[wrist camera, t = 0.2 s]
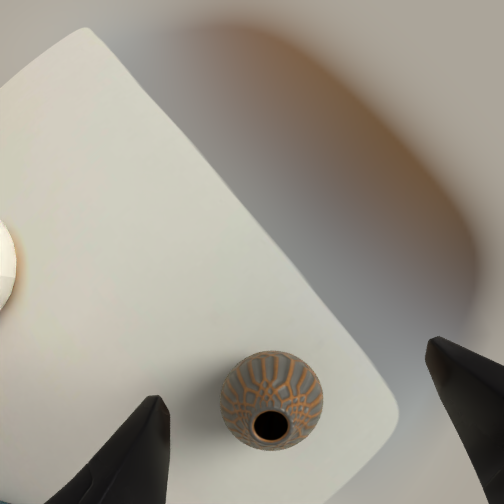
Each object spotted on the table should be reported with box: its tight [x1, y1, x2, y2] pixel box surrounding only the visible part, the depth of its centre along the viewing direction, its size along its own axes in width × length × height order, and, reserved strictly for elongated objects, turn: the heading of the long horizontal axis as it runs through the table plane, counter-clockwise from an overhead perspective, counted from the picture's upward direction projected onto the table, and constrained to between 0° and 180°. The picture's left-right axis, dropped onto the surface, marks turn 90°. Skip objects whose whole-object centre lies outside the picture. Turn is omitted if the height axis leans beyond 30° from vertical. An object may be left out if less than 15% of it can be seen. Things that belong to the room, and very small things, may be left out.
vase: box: [220, 351, 323, 451], centre depth 19 cm, size 7×7×9 cm
